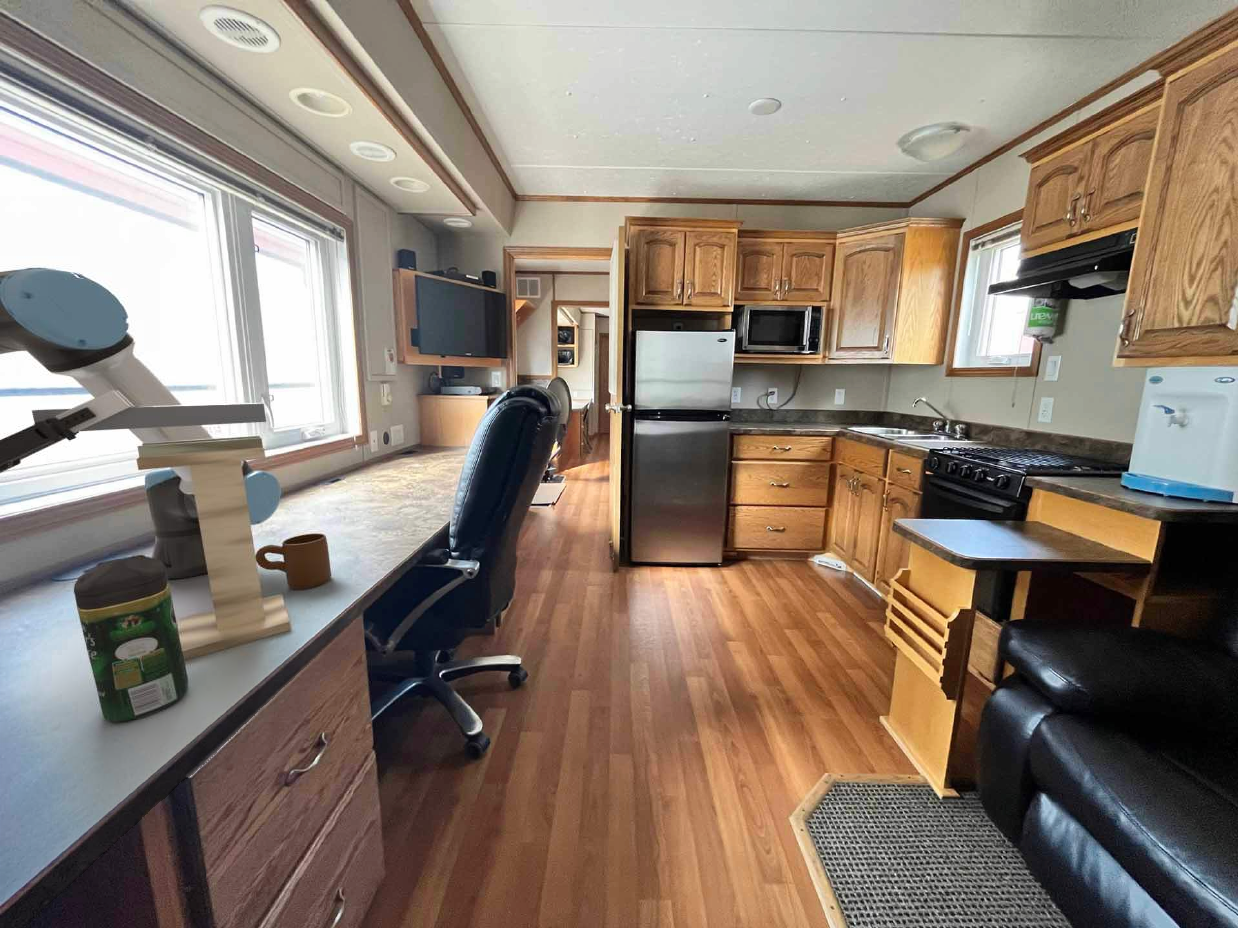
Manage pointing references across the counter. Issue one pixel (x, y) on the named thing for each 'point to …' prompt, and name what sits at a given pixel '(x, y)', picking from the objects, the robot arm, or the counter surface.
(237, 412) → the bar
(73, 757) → the counter surface
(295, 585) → the mug
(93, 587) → the coffee jar
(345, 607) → the counter surface
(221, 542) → the stand
